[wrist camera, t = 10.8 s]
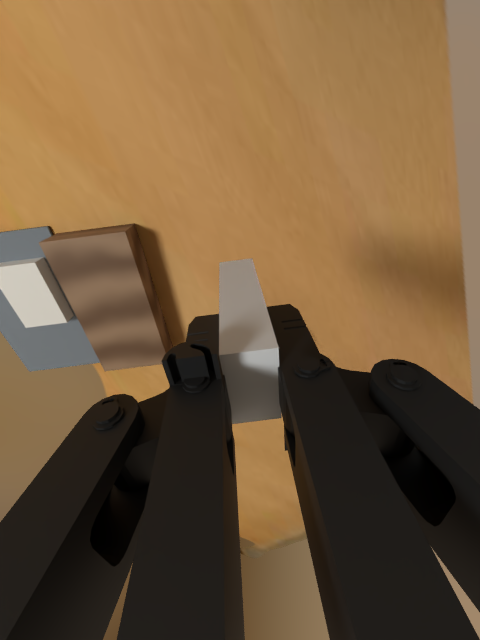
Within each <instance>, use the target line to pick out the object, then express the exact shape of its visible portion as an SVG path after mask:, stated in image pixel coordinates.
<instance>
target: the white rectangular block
mask: <svg viewBox="0 0 480 640" xmlns="http://www.w3.org/2000/svg"><path fill="white" fill-rule="evenodd" d="M0 289H1V291H2V292H3V294H4V295H5V297H6V298H7V300H8V301H9V303H10V304H11V306H12V308H13V309H14V311H15V312H16V314H17V315H18V317H19V318H20V320H21V321H22V323H23V324H24V326H25V327H26V328H29V327H37V326H45V325H53V324H60V323H67V322H68V321H69V320H70V319H71V318H72V317H73V316H74V315H73V313H72V311H71V309H70V307H69V305H68V303H67V301H66V299H65V297H64V296H63V294H62V292H61V290H60V288H59V286H58V284H57V282H56V280H55V278H54V276H53V274H52V273H51V271H50V269H49V267H48V265H47V263H46V261H45V259H44V257H41V258H33V259H25V260H18V261H10V262H2V263H0Z"/></svg>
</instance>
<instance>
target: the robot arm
mask: <svg viewBox="0 0 480 640" xmlns="http://www.w3.org/2000/svg"><path fill="white" fill-rule="evenodd" d="M161 362H162V364H163V367H164V370H165V373H166V376H167V379H168V381H169V384H170V388H169V389H168V390H166V391H165V392H163V393H161V394H159V395H157V396H154V397H152V398H149V399H147V400H144V401H141V402H139V403H138V402H137V401H136V400H135V399H134V398H133V397H132V396H130V395H126V394H119V395H112V396H110V397H107V398H104V399H102V400H101V401H99V402H98V403H96V404H94V405H93V406H92V407H91V408H90V409H89V410H88V411H87V412H86V413H85V414H84V415H83V416H82V418H81V419H80V420H79V422H78V423H77V424H76V425H75V427H74V428H73V429H72V431H71V432H70V433H69V434H68V436H67V437H66V438H65V440H64V441H63V442H62V443H61V445H60V446H59V448H58V449H57V450H56V451H55V453H54V454H53V455H52V456H51V458H50V459H49V460H48V462H47V463H46V464H45V466H44V467H43V468H42V469H41V471H40V472H39V473H38V474H37V476H36V477H35V478H34V480H33V481H32V482H31V484H30V485H29V486H28V487H27V489H26V490H25V491H24V493H23V494H22V495H21V496H20V498H19V499H18V500H17V502H16V503H15V504H14V506H13V507H12V508H11V509H10V511H9V512H8V513H7V514H6V516H5V517H4V518H3V520H2V521H1V522H0V640H103V637H104V635H105V632H106V630H107V627H108V625H109V622H110V619H111V617H112V614H113V612H114V609H115V606H116V604H117V601H118V599H119V596H120V594H121V591H122V589H123V586H124V583H125V581H126V578H127V576H128V573H129V571H130V568H131V565H132V563H133V565H132V570H131V574H130V579H129V584H128V589H127V593H126V599H125V603H124V608H123V613H122V618H121V623H120V627H119V631H118V636H117V640H245V636H244V616H243V598H242V578H241V559H240V540H239V520H238V501H237V482H236V463H235V443H234V437H233V432H232V424H236V423H244V422H252V421H260V420H268V419H276V418H281V412H282V417H283V421H284V438H285V450H288V453H289V458H290V462H291V467H292V471H293V476H294V480H295V485H296V489H297V494H298V498H299V503H300V507H301V512H302V516H303V521H304V525H305V530H306V534H307V539H308V543H309V548H310V552H311V557H312V561H313V566H314V570H315V575H316V579H317V583H318V588H319V592H320V597H321V602H322V606H323V611H324V615H325V619H326V624H327V629H328V633H329V638H330V640H480V639H479V637H478V636H477V633H476V632H475V630H474V628H473V626H472V624H471V623H470V620H469V618H468V616H467V615H466V613H465V611H464V609H463V607H462V605H461V603H460V601H459V599H458V598H457V596H456V594H455V592H454V590H453V588H452V586H451V584H450V583H449V581H448V579H447V577H446V575H445V573H444V571H443V569H442V568H441V566H440V563H439V562H438V560H437V558H436V556H435V554H434V552H433V550H434V551H435V552H436V554H437V555H438V557H439V558H440V559H441V561H442V562H443V563H444V565H445V566H446V567H447V569H448V570H449V571H450V573H451V574H452V575H453V577H454V578H455V579H456V581H457V582H458V584H459V585H460V586H461V588H462V589H463V590H464V592H465V593H466V594H467V596H468V597H469V598H470V599H471V601H472V602H473V604H474V605H475V606H476V608H477V609H478V610H479V612H480V409H478V408H477V407H475V406H474V405H473V404H471V403H470V402H469V401H467V400H466V399H465V398H463V397H462V396H461V395H459V394H458V393H457V392H455V391H454V390H453V389H451V388H450V387H449V386H447V385H446V384H445V383H443V382H442V381H440V380H439V379H438V378H436V377H435V376H434V375H432V374H431V373H430V372H428V371H427V370H425V369H424V368H422V367H420V366H418V365H417V364H414V363H411V362H408V361H405V360H398V359H388V360H382V361H380V362H378V363H376V364H375V365H374V366H373V368H372V370H371V373H368V372H359V371H350V370H345V369H341V368H338V367H335V365H334V364H333V362H332V361H331V360H330V359H329V358H327V357H326V356H324V355H322V354H320V353H319V351H318V349H317V347H316V345H315V343H314V341H313V339H312V336H311V334H310V332H309V330H308V328H307V327H306V324H305V322H304V320H303V318H302V316H301V314H300V312H299V310H298V309H296V308H295V307H293V306H292V305H290V304H286V305H278V306H270V307H266V304H265V300H264V297H263V293H262V290H261V287H260V283H259V280H258V277H257V273H256V270H255V266H254V263H253V260H252V259H244V260H236V261H228V262H220V273H219V314H214V315H206V316H198V317H195V318H194V320H193V321H192V322H191V323H190V324H189V327H188V333H187V338H186V342H184V343H181V344H179V345H177V346H175V347H173V348H171V349H170V350H169V351H168V352H167V353H166V354H165V355H164V357H163V359H162V361H161ZM431 547H432V548H433V550H432V548H431Z"/></svg>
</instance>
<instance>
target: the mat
mask: <svg viewBox="0 0 480 640" xmlns="http://www.w3.org/2000/svg"><path fill="white" fill-rule="evenodd" d="M51 236H53V234H52V232H51V230H50V228H49V226H45V227H37V228H29V229H22V230H14V231H6V232H0V263H2V262H10V261H18V260H25V259H33V258H41V257H44V259H45V261H46V263H47V265H48V267H49V269H50V271H51V273H52V274H53V276H54V278H55V280H56V282H57V284H58V286H59V288H60V290H61V292H62V294H63V296H64V297H65V299H66V301H67V303H68V305H69V307H70V309H71V311H72V313H73V315H74V316H73V317H72V318H71V319H70V320H69V321H68V322H67V323H60V324H53V325H45V326H37V327H29V328H26V327H25V326H24V324H23V323H22V321H21V320H20V318H19V317H18V315H17V314H16V312H15V311H14V309H13V308H12V306H11V304H10V303H9V301H8V300H7V298H6V297H5V295H4V294H3V292H2V291H1V289H0V331H1V333H2V334H3V336H4V337H5V338H6V340H7V341H8V342H9V344H10V345H11V347H12V348H13V349H14V351H15V352H16V353H17V355H18V356H19V358H20V359H21V360H22V362H23V363H24V365H25V366H26V367H27V369H28V370H29V371H37V370H45V369H53V368H61V367H69V366H77V365H85V364H93V363H100V361H99V359H98V357H97V355H96V353H95V351H94V349H93V347H92V345H91V344H90V342H89V340H88V338H87V336H86V334H85V332H84V330H83V328H82V326H81V324H80V322H79V320H78V318H77V316H76V314H75V313H74V311H73V309H72V307H71V305H70V303H69V301H68V299H67V297H66V295H65V293H64V291H63V289H62V287H61V285H60V283H59V281H58V280H57V278H56V276H55V274H54V272H53V270H52V268H51V266H50V264H49V262H48V260H47V258H46V256H45V254H44V252H43V250H42V249H41V247H40V245H39V242H41V241H43V240H45V239H47V238H49V237H51Z"/></svg>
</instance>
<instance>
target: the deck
mask: <svg viewBox="0 0 480 640" xmlns="http://www.w3.org/2000/svg"><path fill="white" fill-rule="evenodd" d="M39 245H40V247H41V249H42V250H43V252H44V254H45V256H46V258H47V260H48V262H49V264H50V266H51V268H52V270H53V272H54V274H55V276H56V278H57V280H58V281H59V283H60V285H61V287H62V289H63V291H64V293H65V295H66V297H67V299H68V301H69V303H70V305H71V307H72V309H73V311H74V313H75V314H76V316H77V318H78V320H79V322H80V324H81V326H82V328H83V330H84V332H85V334H86V336H87V338H88V340H89V342H90V344H91V345H92V347H93V349H94V351H95V353H96V355H97V357H98V359H99V361H100V363H101V365H102V367H103V369H104V371H111V370H119V369H127V368H135V367H143V366H151V365H159V364H162V362H161V361H162V359H163V357H164V355H165V354H166V353H167V352H168V351H169V350H170V349H171V348H173V346H172V343H171V340H170V336H169V333H168V330H167V327H166V323H165V320H164V317H163V314H162V311H161V307H160V304H159V301H158V298H157V294H156V291H155V288H154V285H153V281H152V278H151V275H150V272H149V269H148V265H147V262H146V259H145V256H144V252H143V249H142V246H141V243H140V240H139V236H138V233H137V230H136V227H135V224H127V225H119V226H112V227H104V228H96V229H88V230H81V231H73V232H65V233H57V234H55V235H53V236H51V237H49V238H47V239H45V240H43V241H41V242H39Z"/></svg>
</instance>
